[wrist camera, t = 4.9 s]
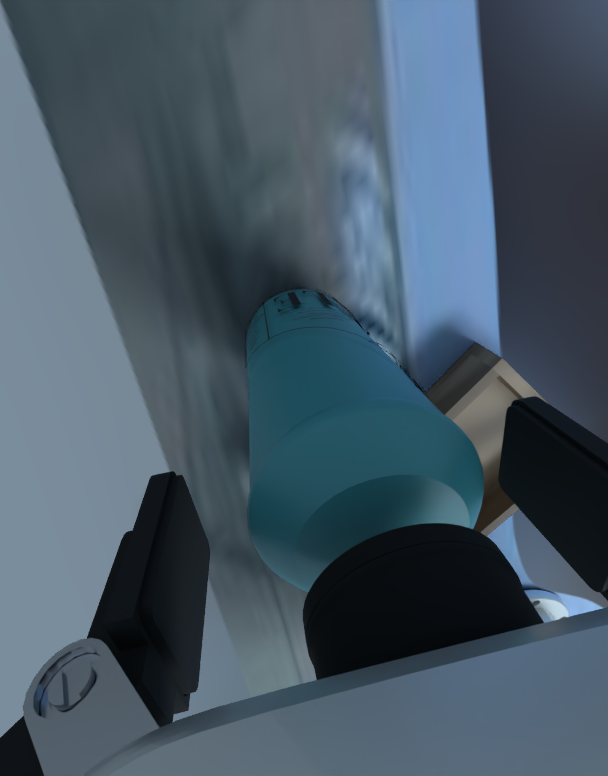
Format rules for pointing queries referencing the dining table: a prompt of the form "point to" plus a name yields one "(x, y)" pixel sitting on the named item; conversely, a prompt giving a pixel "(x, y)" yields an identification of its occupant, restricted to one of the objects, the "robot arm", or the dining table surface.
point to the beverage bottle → (366, 495)
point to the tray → (482, 419)
